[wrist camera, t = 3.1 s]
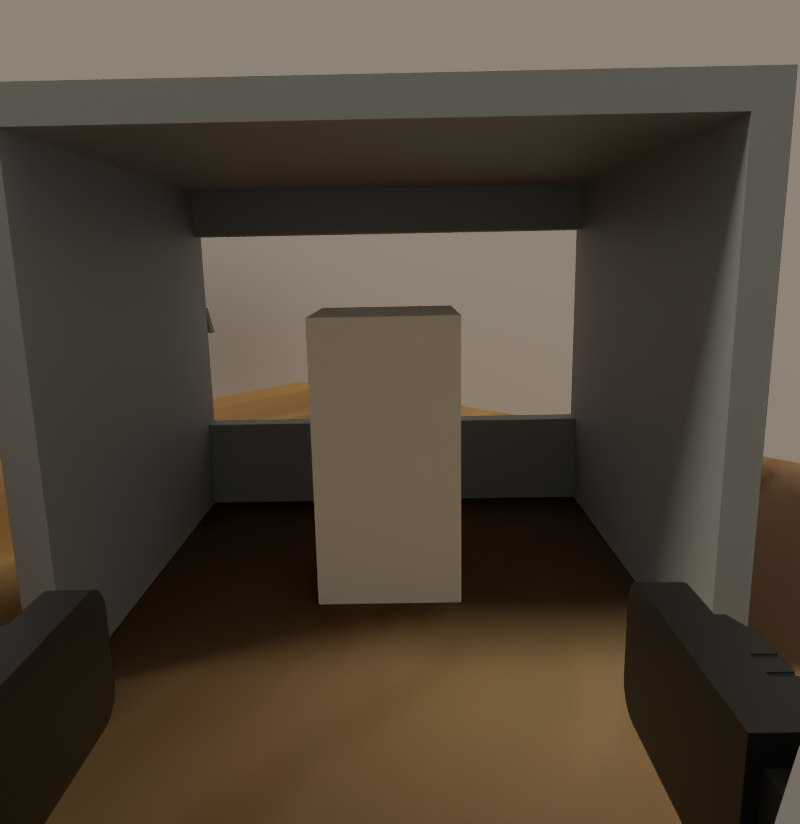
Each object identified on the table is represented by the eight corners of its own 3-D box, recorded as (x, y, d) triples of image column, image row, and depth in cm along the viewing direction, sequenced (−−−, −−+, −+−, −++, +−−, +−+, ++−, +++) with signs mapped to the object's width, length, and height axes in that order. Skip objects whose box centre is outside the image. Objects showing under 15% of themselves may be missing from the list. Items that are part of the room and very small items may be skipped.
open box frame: (33, 690, 20) (-52, 82, 17) (200, 496, 37) (174, 172, 33) (743, 679, 20) (798, 64, 17) (588, 490, 37) (600, 163, 33)
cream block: (318, 604, 25) (305, 317, 23) (332, 548, 30) (322, 308, 28) (461, 601, 25) (460, 315, 23) (451, 546, 30) (450, 305, 28)
